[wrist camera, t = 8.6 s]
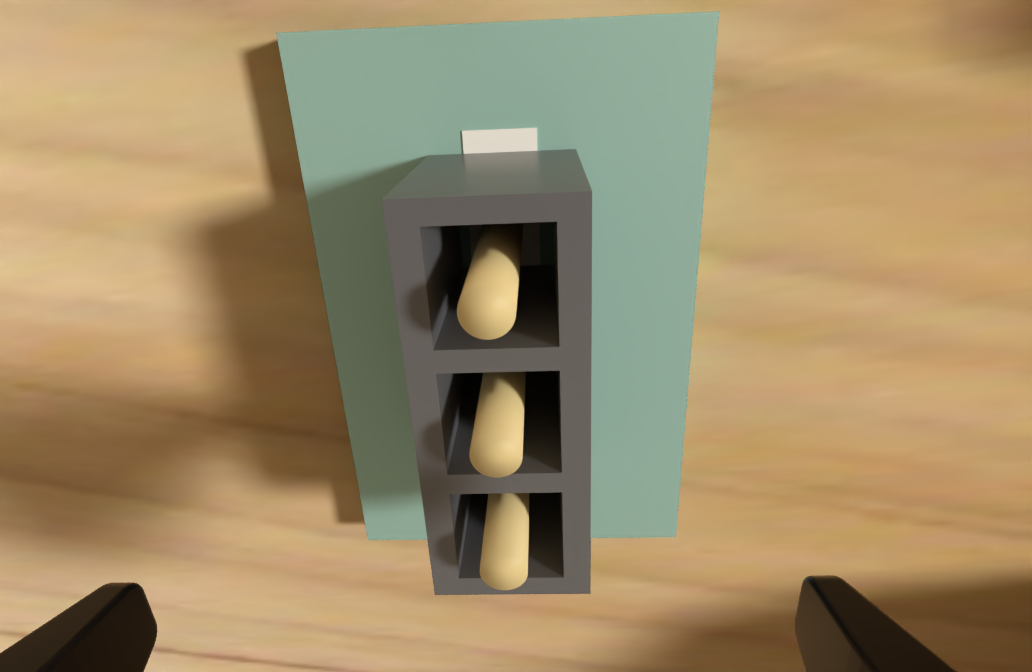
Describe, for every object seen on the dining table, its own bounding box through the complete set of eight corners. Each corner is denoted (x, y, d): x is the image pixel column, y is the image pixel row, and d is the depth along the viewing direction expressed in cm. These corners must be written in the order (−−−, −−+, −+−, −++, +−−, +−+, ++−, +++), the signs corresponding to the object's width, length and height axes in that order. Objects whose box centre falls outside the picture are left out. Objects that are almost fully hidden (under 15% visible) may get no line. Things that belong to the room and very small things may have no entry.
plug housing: (578, 463, 19) (590, 593, 14) (459, 465, 19) (435, 594, 15) (575, 148, 15) (592, 190, 11) (428, 155, 15) (381, 199, 11)
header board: (668, 512, 21) (727, 718, 15) (376, 515, 22) (305, 717, 15) (706, 14, 15) (837, -15, 8) (294, 34, 15) (114, 21, 9)
